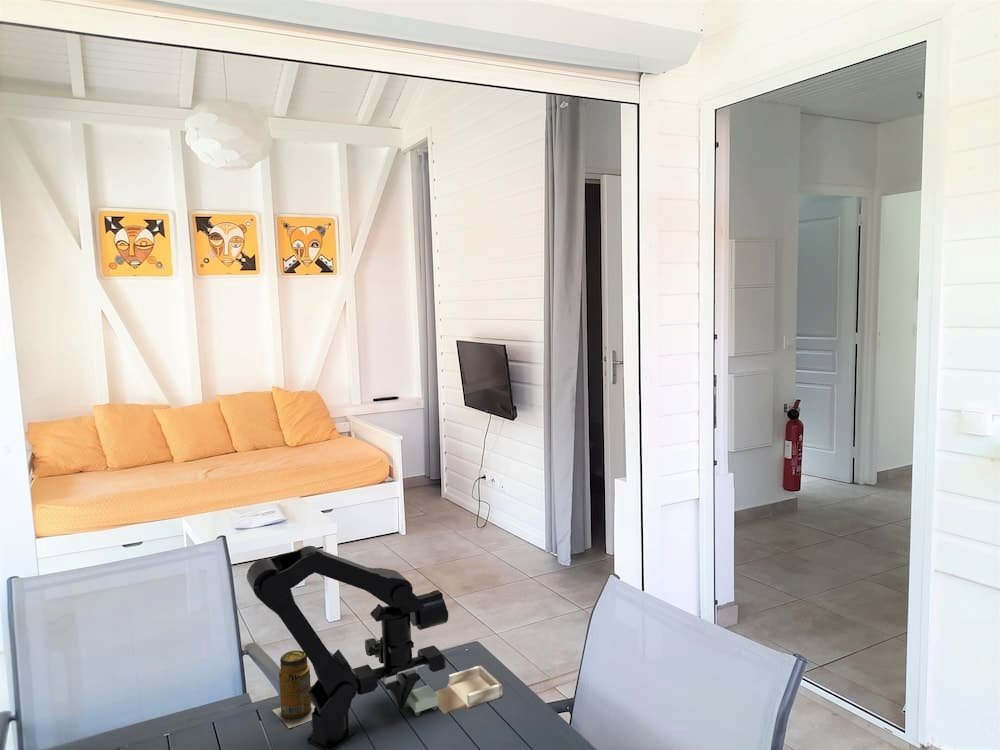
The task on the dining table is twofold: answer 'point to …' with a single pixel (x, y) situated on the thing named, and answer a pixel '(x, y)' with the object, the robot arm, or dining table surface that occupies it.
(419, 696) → the pale green pegged cube
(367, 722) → the dining table surface
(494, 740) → the dining table surface
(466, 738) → the dining table surface
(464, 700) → the dock
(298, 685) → the condiment
